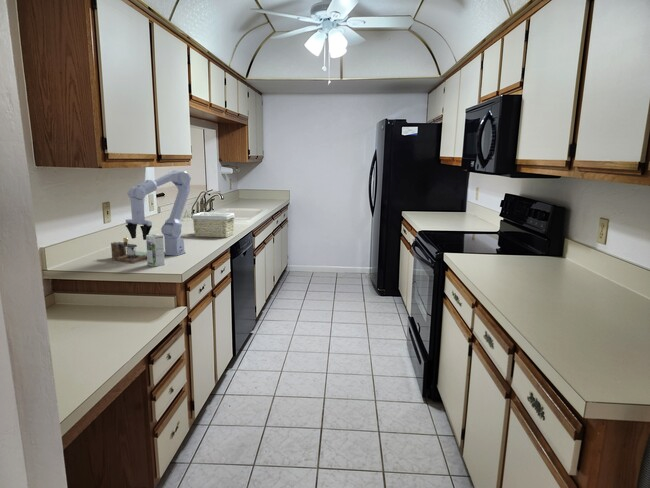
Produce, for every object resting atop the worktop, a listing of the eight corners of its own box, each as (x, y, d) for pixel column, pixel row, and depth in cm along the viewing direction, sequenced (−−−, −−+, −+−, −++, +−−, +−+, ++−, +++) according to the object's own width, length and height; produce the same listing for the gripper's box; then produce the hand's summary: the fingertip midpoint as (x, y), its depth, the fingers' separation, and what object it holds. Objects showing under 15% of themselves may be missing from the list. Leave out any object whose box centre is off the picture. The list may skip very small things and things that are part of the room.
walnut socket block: (148, 258, 211) (147, 244, 209) (133, 262, 201) (132, 247, 200) (124, 255, 216) (123, 241, 215) (108, 259, 207) (106, 244, 205)
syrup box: (147, 265, 198) (145, 235, 195) (157, 262, 203) (156, 233, 200) (154, 266, 195) (152, 236, 192) (165, 264, 200) (163, 234, 197)
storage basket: (191, 237, 270) (190, 214, 267) (202, 232, 286) (201, 211, 283) (227, 238, 267) (226, 215, 264) (235, 234, 283) (235, 212, 280)
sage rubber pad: (151, 253, 221) (151, 253, 221) (140, 256, 214) (139, 256, 214) (138, 252, 224) (138, 251, 224) (126, 255, 217) (126, 254, 217)
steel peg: (137, 259, 209) (137, 247, 208) (131, 260, 206) (130, 248, 204) (131, 258, 211) (130, 246, 209) (125, 259, 207) (124, 248, 206)
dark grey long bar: (136, 246, 207) (136, 238, 206) (132, 247, 205) (132, 239, 204) (115, 244, 212) (114, 236, 211) (111, 245, 209) (110, 237, 209)
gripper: (119, 211, 203) (121, 239, 205) (143, 213, 198) (145, 241, 200) (131, 210, 209) (133, 236, 212) (154, 211, 204) (155, 239, 207)
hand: (139, 238), depth 206 cm, fingers open, 7 cm apart
